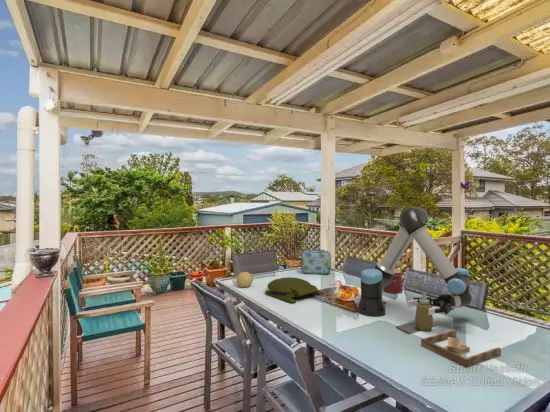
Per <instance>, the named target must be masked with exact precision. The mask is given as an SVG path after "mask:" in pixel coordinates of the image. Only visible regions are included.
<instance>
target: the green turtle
mask: <svg viewBox="0 0 550 412" xmlns="http://www.w3.org/2000/svg"><path fill="white" fill-rule="evenodd" d="M266 287H267V289H268V290H266V291H265V292H264V294H265V295H267V296H270V297H272V298H276V299H278V300H280V301H283V302H286V303H289V304H296V302H297V300H296V299H297V298H301V297H304V296H308V295H311V294H314V295H316V294H317V295H316V296H320V295H322V296H324V295H325V292H324V291H322V290H319V289H318V287H317V286H316V285H313V284H311V283H310V282H309V281H307V280H305V279H303V278H298V277H290V276H288V277H287V276H286V277H281V278H276V279H273V280H271V281H270V282H268V284H267V285H266ZM281 293H284V294H285V295H283V294H281ZM294 298H296V299H294Z"/></svg>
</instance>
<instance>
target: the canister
mask: <svg viewBox="0 0 550 412" xmlns="http://www.w3.org/2000/svg"><path fill="white" fill-rule="evenodd" d="M394 271H395V274H394V276H393V279H392V282H391V283H390V285H388V286H387V287H385V288H383V289H382V291H383V292H385V293H389V294H402V293H403V289H404V288H403V280H404V279H403V274H402V270H400V269H399V268H396V267H395V269H394Z"/></svg>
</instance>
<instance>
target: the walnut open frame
mask: <svg viewBox="0 0 550 412" xmlns="http://www.w3.org/2000/svg"><path fill="white" fill-rule="evenodd" d="M448 337H452V338H457V330H455V329H454V330H449V331H446V332H443V333H439V334H435V335H431V336H428V337H423V338H420V346H421V347H422V348H425V349H427V350H429V351H430V352H434V353H435V354H437V355H440V356H441V357H443V358H446V359H447V360H449V361H452V362H453V363H456V364H458V365H460V366H462V367H463V368H470V367H473V366H476V365H478V364H481V363H483V362H486V361H489V360H491V359H494V358H498V357H500V356H502V348H501V347H495V348H492V349H489V350H486V351H483V352H481V353H477V354H474V355H471V356H468V357H466V358H465V357H464V356H462V355H457V354H455V353H453V352H451V351H448V350H446V349H444V348H442V347H443V346H441V345H440V346H439V345H438V344H437V343H440V342H445V341H448Z"/></svg>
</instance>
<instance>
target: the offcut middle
mask: <svg viewBox="0 0 550 412" xmlns="http://www.w3.org/2000/svg"><path fill="white" fill-rule="evenodd" d="M441 347H442V348H444V349H446V350H448V349H447V345H445V346H441ZM470 351H471V348H470V346H467V345H466V344H463V343H462V342H460V353H455V352H453V353H455V354H457V355H459V356H461V355H464V354H467V353H471V352H470Z"/></svg>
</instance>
